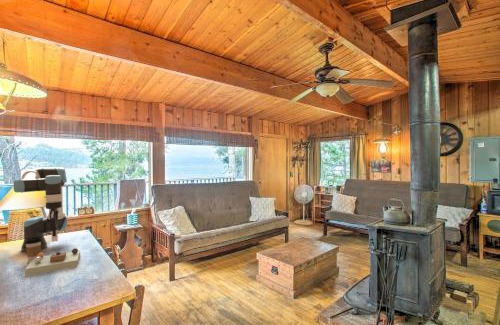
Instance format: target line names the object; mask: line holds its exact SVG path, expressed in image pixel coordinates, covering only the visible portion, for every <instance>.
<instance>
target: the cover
mask: <svg viewBox="0 0 500 325" xmlns="http://www.w3.org/2000/svg"><path fill="white" fill-rule="evenodd" d="M66 253H67V252H66V251H61V252H60V251H59V252H55V253H52V254H51V257H50V262H53V261H59V260H64V259H65V257H66Z"/></svg>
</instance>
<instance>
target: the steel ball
mask: <svg viewBox="0 0 500 325" xmlns="http://www.w3.org/2000/svg"><path fill="white" fill-rule="evenodd" d="M34 261H35V263H39V262H41V261H42V258H41V257H37V258H35V260H34Z"/></svg>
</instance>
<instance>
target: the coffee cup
mask: <svg viewBox="0 0 500 325" xmlns="http://www.w3.org/2000/svg"><path fill="white" fill-rule="evenodd" d="M41 241H42V240H41V237H35V238H29V239H27V240H26V242H25V244H26V250H27V252H26V255H27V262H28V263H30V262H31V261H32V260H33V258H37V254H39V253H41V250H42V249H41Z"/></svg>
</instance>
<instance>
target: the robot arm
mask: <svg viewBox="0 0 500 325" xmlns="http://www.w3.org/2000/svg"><path fill="white" fill-rule="evenodd" d="M67 181H68V179H67V175H66V169H65V168H64V167H58V166H56V167H54V166H53V167H36V168H32V169H29V170H27V171H25V172H24V173H23V174H22V176H21V179H20V178H19V179H14V181H13V191H14V192H15V193H31V192H32V193H33V192H45V195H44V197H43V198H44V199H45V209H47V210H48V214H47V215H46V217H44V216H43V215H42V216H35V217H31V218H28V219H25V220H24V222H23V242H22V244H21V247H20V248H21V249H20V250H21V252H26V253H27V250H26V244H25V242H26V240H27V239H29V238H35V237H41V240H42V241H41V250H43V249H45V248H47V247H48V243H47V241H46V239H45V234H47V233H48V234H49V233H51V243H52V242H53V243H54V242H58V241H59V238H58V237H59V236H58V232H61V231H65V230H66V229H67V227H68V226H67V225H68V215H66V213H65V212H64V211H63V210H64V207H63V205H64V204H63V201H64V200H63V187H64V186H65V184H66V183H67Z"/></svg>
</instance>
